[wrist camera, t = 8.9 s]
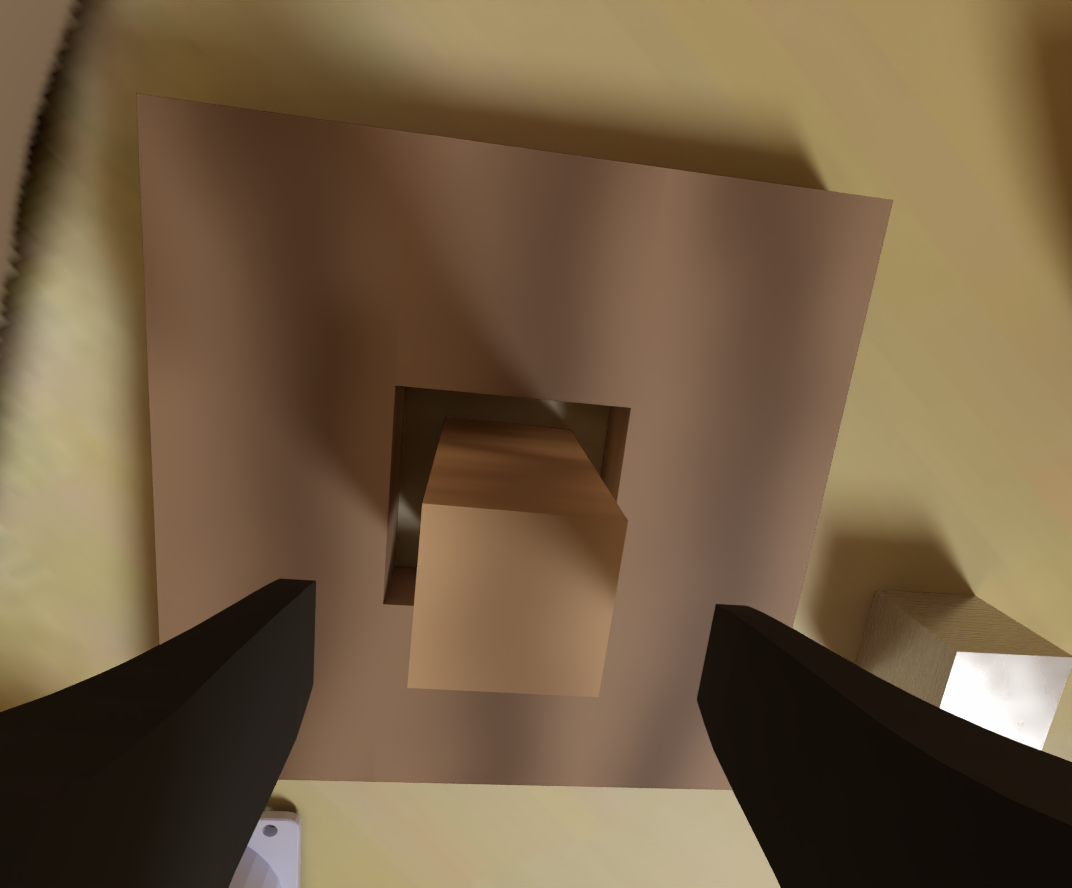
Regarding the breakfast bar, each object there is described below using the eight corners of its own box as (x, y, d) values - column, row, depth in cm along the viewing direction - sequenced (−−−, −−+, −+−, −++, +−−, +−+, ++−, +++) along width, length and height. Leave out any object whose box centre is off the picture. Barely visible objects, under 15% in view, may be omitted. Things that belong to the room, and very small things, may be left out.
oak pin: (435, 534, 20) (407, 688, 12) (445, 417, 19) (422, 503, 11) (554, 544, 21) (598, 697, 13) (570, 429, 20) (628, 520, 12)
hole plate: (201, 720, 21) (165, 776, 19) (186, 122, 16) (136, 93, 14) (725, 738, 23) (753, 790, 21) (839, 211, 19) (893, 200, 16)
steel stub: (849, 683, 23) (922, 762, 19) (874, 588, 22) (956, 651, 18) (944, 687, 24) (1035, 765, 20) (973, 594, 23) (1075, 657, 19)
